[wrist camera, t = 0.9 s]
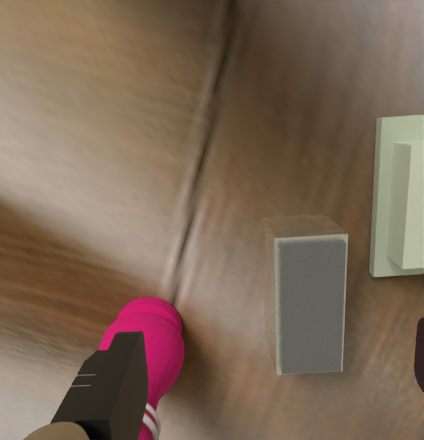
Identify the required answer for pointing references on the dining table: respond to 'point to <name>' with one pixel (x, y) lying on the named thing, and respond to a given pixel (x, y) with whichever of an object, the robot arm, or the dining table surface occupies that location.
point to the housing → (305, 292)
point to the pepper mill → (153, 350)
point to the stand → (398, 197)
